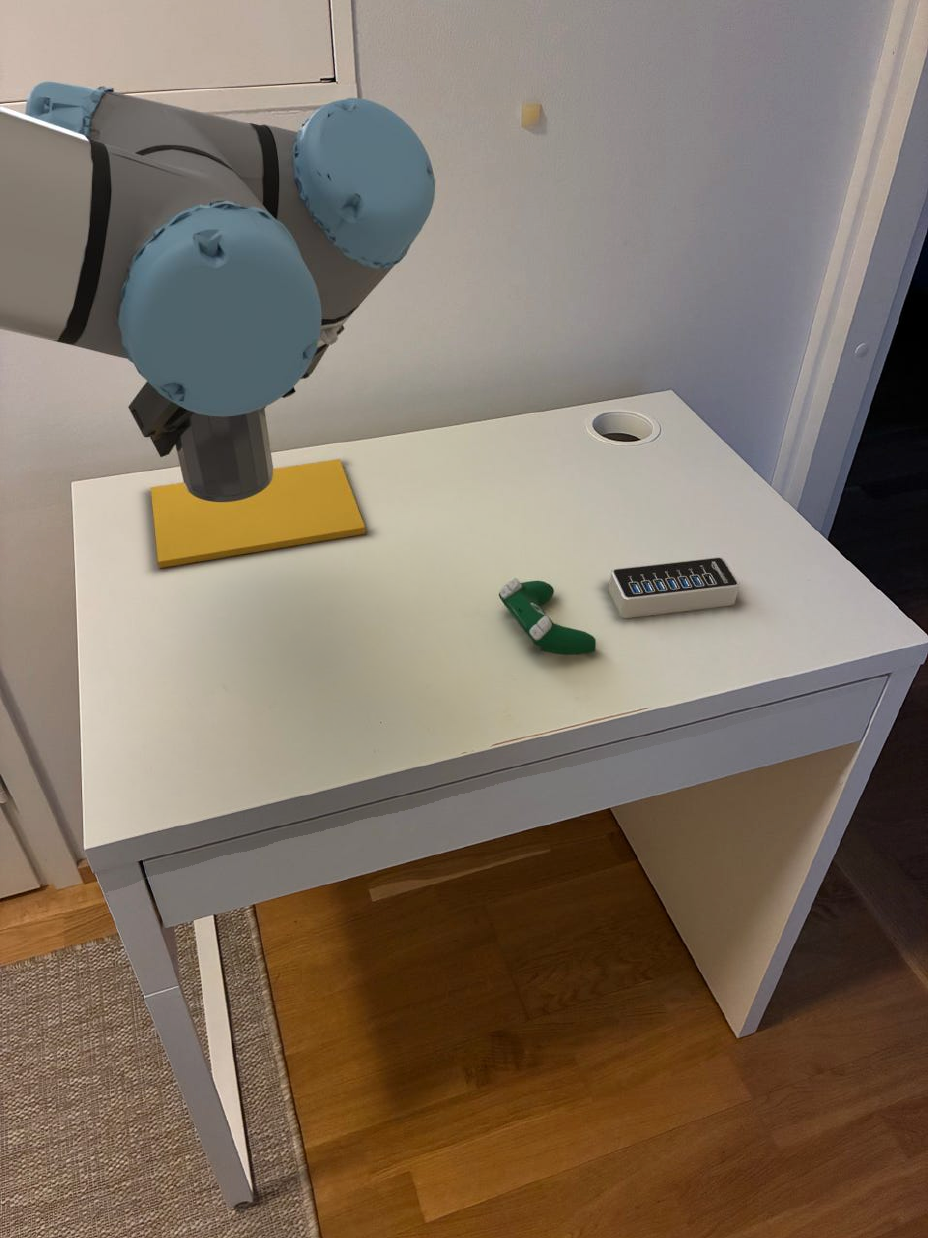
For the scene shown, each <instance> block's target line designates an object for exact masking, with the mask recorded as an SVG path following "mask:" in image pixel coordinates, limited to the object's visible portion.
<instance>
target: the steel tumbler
mask: <svg viewBox="0 0 928 1238" xmlns="http://www.w3.org/2000/svg"><path fill="white" fill-rule="evenodd" d="M265 409H266V408H265ZM265 409H264V407H263V408H261V409H258V410H256V411H253V412H250V413H246V414H241V415H235V416H224V417H223V416H209V415H203V414H198V413H194V414H192V415H191V416H190V417H189V418H188V419H186V420H185V421H184V424H185V426H186V428H185V430H184V432H183V433H182V435H181V436H180V438H179V439H178V441H177V443H176V444H175V449H176V453H177V459H178V463H179V467H180V471H181V477H182V480H183V482H184V483H185V487H186V489H187V490H188V491H189V493H191V494H192V495H193V496H195V497H197V498H199V499H202V500H205V501H210V502H233V501H239V500H243V499H246V498H249V497H252V496H254V495H256V494H258V493H260V492H261V491H263V490H264V489H265V488H266V487H267V486H268V485H269V484H270V483H271V481H272V478H273V474H274V473H273V469H274V464H273V457H272V451H271V450H272V449H271V443H270V437H269V429H268V423H267V417H266V416H267V415H266V410H265Z"/></svg>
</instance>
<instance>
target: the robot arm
mask: <svg viewBox="0 0 928 1238" xmlns="http://www.w3.org/2000/svg"><path fill="white" fill-rule="evenodd" d="M435 198H436V177H435V173H434V168H433V164H432V161H431V159H430V156H429V154H428V151H427V149H426V147H425V146H424V144H423V141H422V140H421V139H420V137H419V136H418V135H417V133H416V132H415V131H414V129H413V128H412V127H411V126H410V124H408V123H407V122H406V121H405V120H404V119H403V118H402V117H401V116H399V115H398V114H397V113H395V112H394V111H392V110H391V109H390V108H387V107H386V106H384V105H382V104H381V103H377V102H375V101H372V100H369V99H366V98H360V97H347V98H345V99H340V100H335V101H332V102H329V103H325V104H323V105H322V106H321V107H319V108H318V109H317V110H316V111H315V112H314V113H313V114H312V115H311V116H310V117H309V118H307V119H306V120H305V121H304V123H302V124H301V127H300V129H299V130H297V131H295V130H291V129H286V128H282V127H279V126H278V127H277V126H275V125H269V124H264V123H263V124H257V123H253V122H245V121H240V120H237V119H233V118H228V117H225V116H219V115H215V114H211V113H206V112H203V111H198V110H194V109H189V108H184V107H182V106H177V105H172V104H168V103H164V102H160V101H155V100H150V99H146V98H141V97H138V96H133V95H129V94H124V93H121V92H116V91H115V88H113V87H110V86H99V87H97V88H96V87H89V86H83V85H78V84H70V83H65V82H59V81H53V80H51V81H50V80H49V81H48V80H47V81H42V82H39V83H38V84H36V85H35V86H33V88H32V89H31V90H30V92H29V93H28V96H27V99H26V103H25V109H24V113H21V112H18V111H16V110H12V109H10V108H7V107H5V106H1V105H0V330H3V331H7V332H12V333H16V334H22V335H26V336H30V337H33V338H38V339H43V340H47V341H51V342H56V343H61V344H65V345H70V346H74V347H77V348H82V349H86V350H89V351H94V352H97V353H101V354H104V355H108V356H109V355H110V356H113V357H117V358H122V359H126V360H128V362H130V363H132V364H133V365H134V367H135V369H136V371H137V373H138V374H139V375H140V376H141V377H142V378H143V379H144V380H146V382H145V384H144V385H143V386H142V387H141V389H140V390H139V392H138V393H137V394H136V396H135V397H134V398H133V399H132V401H131V402H130V404H129V405H128V406H127V408H128V410H129V412H130V414H131V415H132V417H133V419H134V421H135V423H136V424H137V427H138V428H139V431H140V432H141V434H142V436H143V438H149V439H150V440H151V442H152V444H153V446H154V448H155V449H156V452H157V453H158V455H159V457H160V458H163V457H166V456H168V455H170V453H172V450H173V449H174V447H176V445H175V444H176V443H177V441H178V439H179V438H180V436H181V435H182V433H183V432H184V430H185V428H186V426H185V424H184V421H185V420H186V419H188V418H189V417H190V416H191V415H192V414H194V413H198V414H203V415H209V416H223V417H224V416H235V415H241V414H246V413H250V412H253V411H256V410H258V409H261V408H263V407H264V409H266V408H267V407H268V406H269V405H271V404H273V403H275V402H276V401H278V400H279V399H281V398H282V399H286V398H288V397H290V396H292V395H293V394H295V393H296V389H295V386H296V385H297V384H298V383H299V382H300V380H303V379H304V380H306V379H308V378H309V377H310V376H311V375H312V374H313V373H314V371H315V370H316V368H317V366H318V365H319V363H320V362H321V360H322V358H323V356H324V354H325V353H326V351H327V350H328V348H329V347H330V346H332V345H334V344H335V343H336V342H338V339H339V335H341V334H342V332H343V331H344V330H345V327H344V324H345V323H346V322H347V321H348V319H349V318H350V317H351V316H352V315H353V313H354V312H355V311H357V309H359V307H360V305H362V303H363V302H365V300H366V299H367V297H369V295H370V294H371V293H372V292H373V291H374V289H376V288H377V286H378V285H379V284H380V283H381V281H383V279H384V278H385V277H386V276H387V275H388V274H389V273H390V272H391V270H392V269H393V268H394V267H395V265H398V264H399V263H400V262H401V261H402V260H404V258H405V257H406V256H407V254H408V252H409V250H410V247H411V245H412V244H413V243H414V241H415V239H417V237H418V235H419V234H420V233H421V232H422V230H423V227H424V226H425V223H427V220H428V218H429V216H430V214H431V212H432V209H433V207H434V203H435Z"/></svg>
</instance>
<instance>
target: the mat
mask: <svg viewBox="0 0 928 1238" xmlns="http://www.w3.org/2000/svg"><path fill="white" fill-rule="evenodd" d="M273 473H274V474H273V478H272V481H271V483H270V484H269V485H268V486H267V487H266V488H265V489H264V490H263V491H261V492H260V493H258V494H256V495H254V496H252V497H249V498H246V499H243V500H239V501H233V502H210V501H205V500H202V499H199V498H197V497H195V496H193V495H192V494H191V493H189V491H188V490H187V489H186V487H185V483H184V481H183V482H178V483H170V484H164V485H158V486H151V487H150V497H151V506H152V517H153V526H154V535H155V536H154V537H155V546H156V547H155V548H156V556H157V564H158V567H159V569H164V568H169V567H175V566H180V565H186V564H193V563H198V562H204V561H205V562H206V561H211V560H217V559H222V558H228V557H235V556H240V555H246V554H251V553H259V552H264V551H265V552H266V551H271V550H277V549H282V548H289V547H294V546H300V545H306V544H312V543H318V542H323V541H329V540H336V539H342V538H347V537H353V536H360V535H365V534H366V533H367V532H366V527H365V523H364V521H363V518H362V515H361V512H360V509H359V507H358V505H357V502H356V499H355V496H354V494H353V491H352V488H351V485H350V483H349V480H348V477H347V474H346V471H345V469H344V467H343V464H342V460H341V459H340V458H337V459H330V460H325V461H324V460H323V461H318V462H311V463H305V464H304V463H303V464H298V465H291V466H284V467H278V468H273Z"/></svg>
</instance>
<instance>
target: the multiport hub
mask: <svg viewBox="0 0 928 1238" xmlns="http://www.w3.org/2000/svg"><path fill="white" fill-rule="evenodd" d="M739 588H740V582H739V581H738V579H737V577H736V576H735V574H734V572H733V571H732V570H731V568H730V566H729V564H728V563H727V562H726V560H725V559H724V558H723V557H709V558H708V557H707V558H700V559H699V558H698V559H691V560H690V559H689V560H681V561H672V562H664V563H655V564H647V565H638V566H628V567H621V568H613V569H611V571H610V576H609V584H608V592H609V595H610V597H611V599H612V601H613V603H614V605H615V607H616V609H617V612H618V615H619V616H620V617H621V618H623V619H633V618H639V617H649V616H657V615H665V614H673V613H682V612H691V611H697V610H707V609H715V608H724V607H731V606H734V605H735V604H736V599H737V596H738V592H739Z"/></svg>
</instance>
